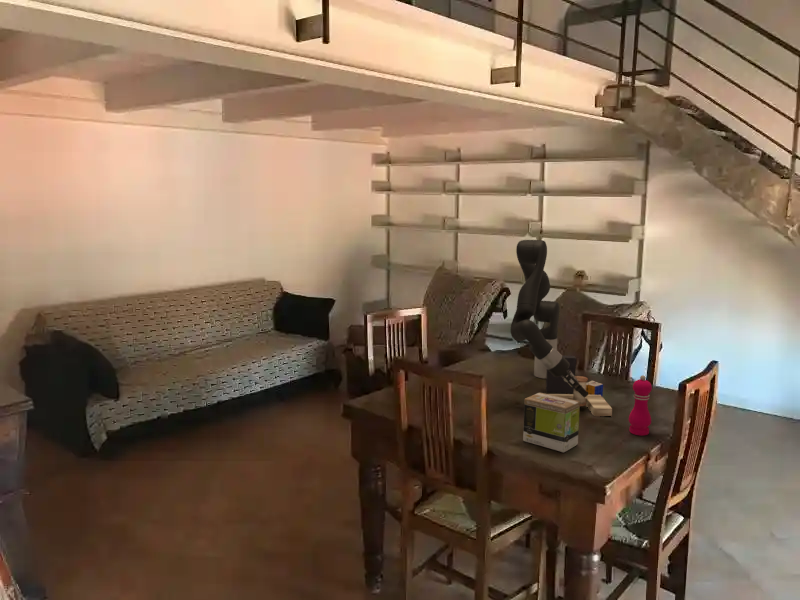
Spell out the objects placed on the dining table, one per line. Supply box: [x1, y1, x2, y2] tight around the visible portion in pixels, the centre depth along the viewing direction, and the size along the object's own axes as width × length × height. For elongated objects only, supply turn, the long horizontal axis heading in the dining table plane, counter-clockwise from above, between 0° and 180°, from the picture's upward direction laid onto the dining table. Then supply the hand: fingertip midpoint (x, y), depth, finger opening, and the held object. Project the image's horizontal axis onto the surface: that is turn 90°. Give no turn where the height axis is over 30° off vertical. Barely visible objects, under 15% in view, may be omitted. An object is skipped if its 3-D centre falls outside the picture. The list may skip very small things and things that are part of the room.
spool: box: [573, 375, 589, 407], centre depth 246 cm, size 5×5×10 cm
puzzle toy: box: [586, 380, 604, 397], centre depth 262 cm, size 6×5×6 cm
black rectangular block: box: [545, 355, 577, 394], centre depth 266 cm, size 11×4×15 cm, turn 84°
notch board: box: [548, 393, 613, 418], centre depth 247 cm, size 16×20×3 cm
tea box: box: [522, 392, 581, 453], centre depth 213 cm, size 15×10×15 cm
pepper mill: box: [628, 374, 653, 437], centre depth 223 cm, size 7×7×20 cm
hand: (584, 393), depth 246 cm, fingers closed on spool, 4 cm apart
